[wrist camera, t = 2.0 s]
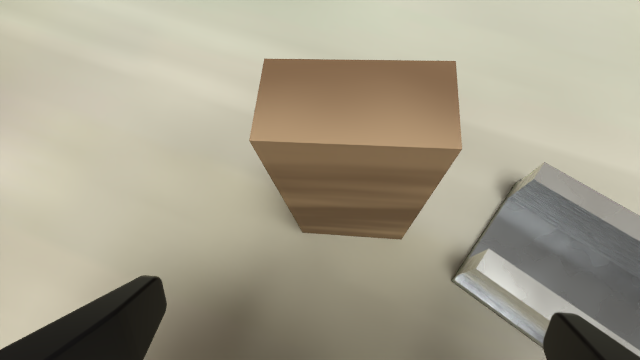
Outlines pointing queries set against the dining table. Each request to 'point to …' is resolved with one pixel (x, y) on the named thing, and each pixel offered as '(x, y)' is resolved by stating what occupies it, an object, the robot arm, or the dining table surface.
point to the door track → (559, 259)
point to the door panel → (356, 140)
